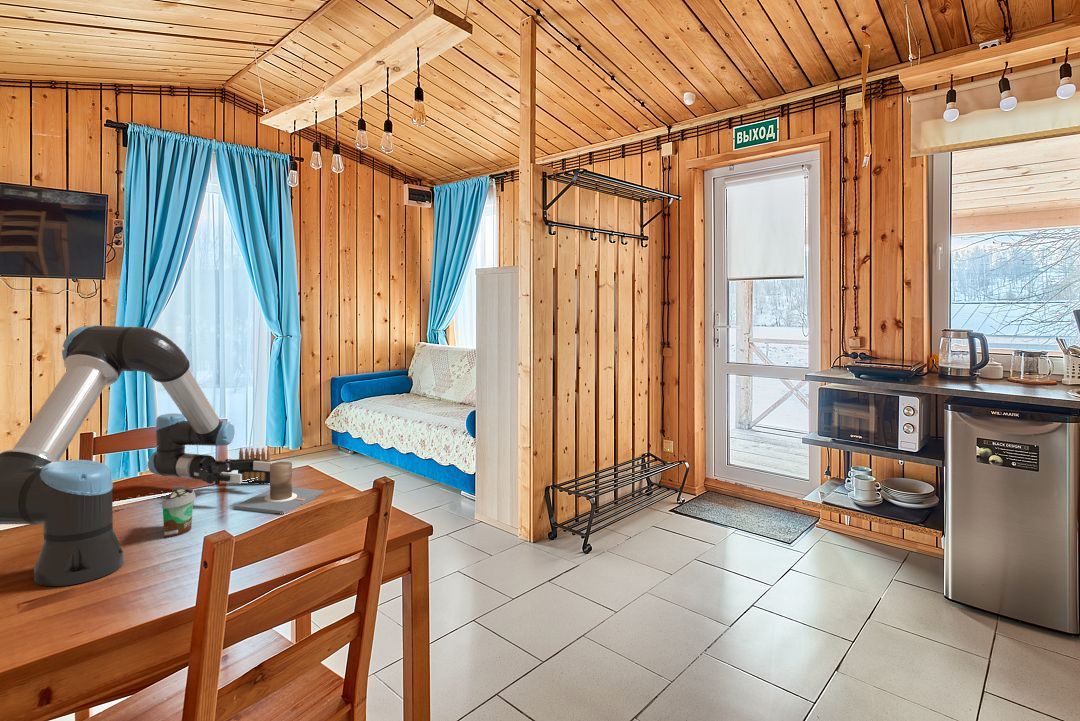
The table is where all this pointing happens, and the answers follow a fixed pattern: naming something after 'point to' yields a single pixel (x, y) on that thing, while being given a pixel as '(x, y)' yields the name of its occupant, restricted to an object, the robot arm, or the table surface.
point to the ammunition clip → (250, 473)
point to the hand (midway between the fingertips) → (257, 472)
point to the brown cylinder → (280, 480)
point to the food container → (178, 511)
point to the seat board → (278, 501)
